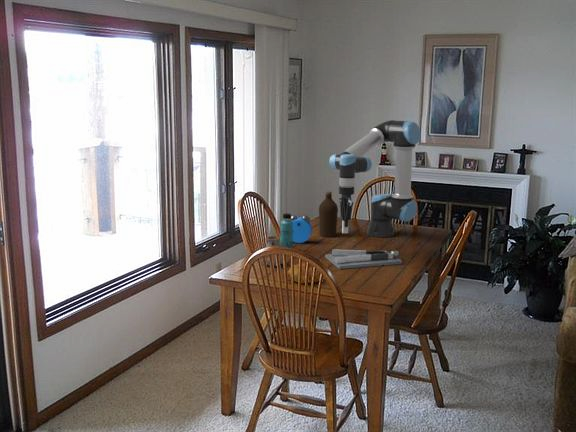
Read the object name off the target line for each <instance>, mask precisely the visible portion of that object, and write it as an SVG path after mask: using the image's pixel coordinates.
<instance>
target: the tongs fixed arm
mask: <svg viewBox="0 0 576 432" xmlns="http://www.w3.org/2000/svg"><path fill="white" fill-rule="evenodd" d="M393 258H398V259H399V251H398V250H396V249H395V250H391V251H390V252H389V253H378V254H367V255H354V256H341V257H335V262H336V263H345V262H355V261H368V260H383V259H393Z"/></svg>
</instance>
